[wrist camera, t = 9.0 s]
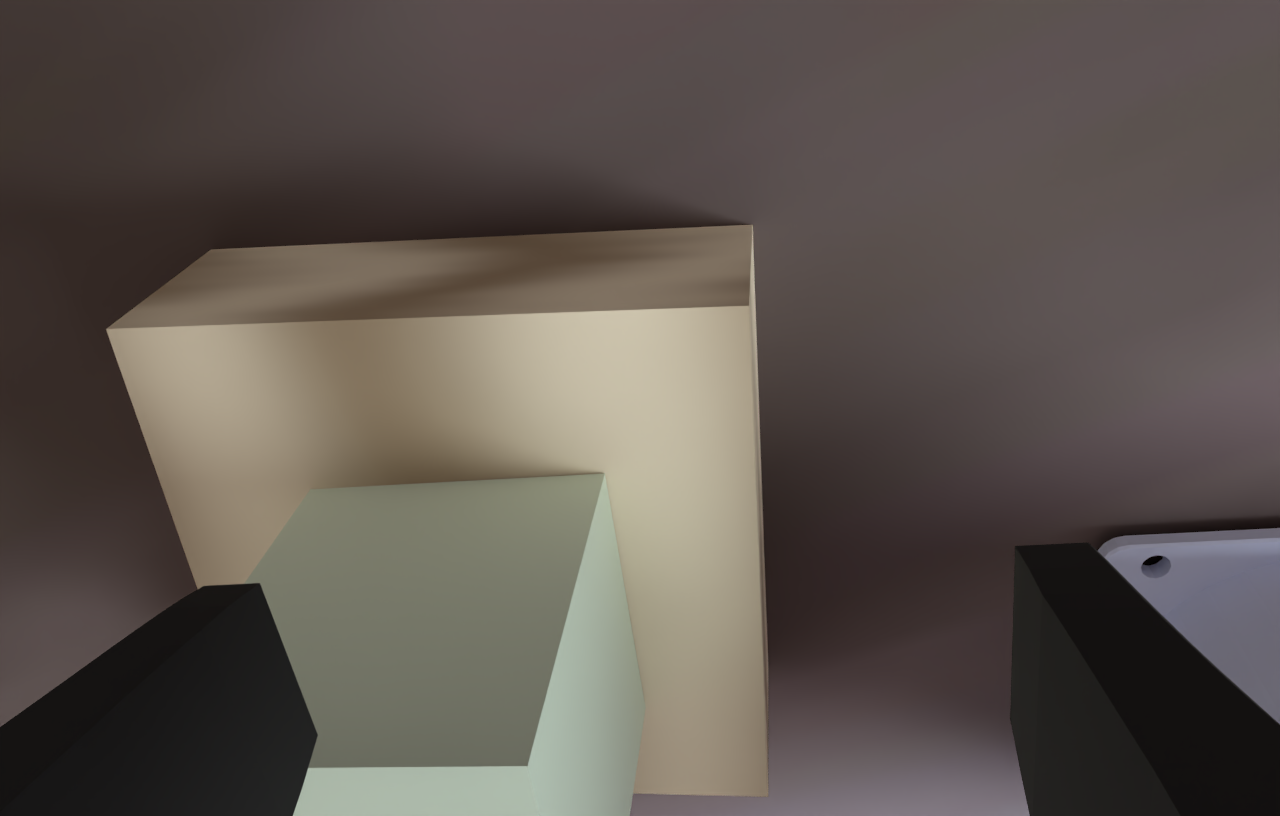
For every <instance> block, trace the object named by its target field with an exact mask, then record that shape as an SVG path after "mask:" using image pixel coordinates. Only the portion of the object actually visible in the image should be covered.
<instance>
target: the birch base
mask: <svg viewBox="0 0 1280 816" xmlns="http://www.w3.org/2000/svg"><path fill="white" fill-rule="evenodd" d="M106 331H107V334H108V336H109V339H110V342H111V345H112V348H113V351H114V353H115V356H116V359H117V362H118V365H119V368H120V370H121V373H122V376H123V379H124V382H125V385H126V387H127V390H128V393H129V396H130V399H131V402H132V404H133V407H134V410H135V413H136V416H137V419H138V421H139V424H140V427H141V430H142V433H143V436H144V438H145V441H146V444H147V447H148V450H149V453H150V455H151V458H152V461H153V464H154V467H155V470H156V472H157V475H158V478H159V481H160V484H161V487H162V489H163V492H164V495H165V498H166V501H167V504H168V506H169V509H170V512H171V515H172V518H173V521H174V523H175V526H176V529H177V532H178V535H179V538H180V540H181V543H182V546H183V549H184V552H185V555H186V557H187V560H188V563H189V566H190V569H191V572H192V574H193V577H194V580H195V583H196V586H197V589H199V588H201V587H203V586H209V585H230V584H244V583H245V582H246V580H247V579H248V578H249V576H250V575H251V573H252V572H253V570H254V569H255V568H256V566H257V565H258V563H259V562H260V560H261V559H262V558H263V556H264V555H265V553H266V552H267V550H268V549H269V548H270V546H271V545H272V543H273V542H274V540H275V539H276V538H277V536H278V535H279V533H280V532H281V530H282V529H283V528H284V526H285V525H286V523H287V522H288V520H289V519H290V518H291V516H292V515H293V513H294V512H295V510H296V509H297V508H298V506H299V505H300V503H301V502H302V500H303V499H304V498H305V496H306V495H307V493H308V492H309V490H310V489H325V488H343V487H361V486H380V485H399V484H417V483H436V482H455V481H473V480H492V479H510V478H529V477H548V476H566V475H585V474H604V473H605V477H606V483H607V489H608V494H609V500H610V506H611V512H612V517H613V523H614V529H615V534H616V540H617V546H618V552H619V557H620V563H621V569H622V575H623V580H624V586H625V592H626V598H627V603H628V609H629V615H630V621H631V626H632V632H633V638H634V644H635V649H636V655H637V661H638V666H639V672H640V678H641V684H642V689H643V695H644V701H645V707H646V709H645V716H644V722H643V729H642V736H641V743H640V749H639V756H638V763H637V770H636V776H635V783H634V790H633V793H638V794H677V795H716V796H756V797H768V641H767V613H766V585H765V557H764V529H763V502H762V474H761V446H760V418H759V390H758V363H757V335H756V307H755V279H754V252H753V225H734V226H712V227H690V228H668V229H647V230H625V231H603V232H581V233H559V234H538V235H516V236H494V237H472V238H450V239H428V240H407V241H385V242H363V243H341V244H319V245H298V246H276V247H254V248H232V249H211V250H210V251H208V252H207V253H206V254H204V255H203V256H202V257H200V258H199V259H198V260H196V261H195V262H194V263H192V264H191V265H190V266H189V267H187V268H186V269H185V270H183V271H182V272H181V273H179V274H178V275H177V276H175V277H174V278H173V279H171V280H170V281H169V282H167V283H166V284H165V285H163V286H162V287H161V288H159V289H158V290H157V291H156V292H154V293H153V294H152V295H150V296H149V297H148V298H146V299H145V300H144V301H142V302H141V303H140V304H138V305H137V306H136V307H134V308H133V309H132V310H130V311H129V312H128V313H126V314H125V315H124V316H122V317H121V318H120V319H119V320H117V321H116V322H115V323H113V324H112V325H111V326H109V327H108V328H107V329H106Z"/></svg>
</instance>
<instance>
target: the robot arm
mask: <svg viewBox="0 0 1280 816" xmlns="http://www.w3.org/2000/svg"><path fill="white" fill-rule="evenodd" d="M1156 555H1159V556H1163V558H1162V560H1160V561H1159V562H1158V563H1156V564H1153V565H1149V566H1147V565H1142V564H1143V562H1144V561H1145V560H1146V559H1148V558H1149V557H1152V556H1156ZM1010 720H1011V725H1012V730H1013V735H1014V740H1015V745H1016V750H1017V755H1018V760H1019V766H1020V771H1021V776H1022V780H1023V785H1024V790H1025V795H1026V799H1027V804H1028V809H1029V814H1030V816H1280V528H1270V529H1250V530H1230V531H1210V532H1190V533H1169V534H1149V535H1129V536H1121V537H1116V538H1113V539H1111V540H1109V541H1107V542H1105V543H1104V544H1103V545H1102V546H1101V547H1100V548H1099V550H1098V551H1097V550H1096V549H1095V548H1094V547H1092V546H1091V545H1090V544H1089V543H1071V544H1051V545H1030V546H1015V572H1014V607H1013V642H1012V677H1011V712H1010ZM317 737H318V734H317V731H316V729H315V726H314V723H313V721H312V718H311V716H310V713H309V710H308V708H307V705H306V703H305V700H304V697H303V695H302V692H301V689H300V687H299V684H298V682H297V679H296V676H295V674H294V671H293V668H292V666H291V663H290V661H289V658H288V655H287V653H286V650H285V647H284V645H283V642H282V640H281V637H280V634H279V632H278V629H277V626H276V624H275V621H274V619H273V616H272V613H271V611H270V608H269V605H268V603H267V600H266V598H265V595H264V592H263V590H262V587H261V585H260V583H250V584H230V585H209V586H203V587H201V588H199V589H198V590H196V591H194V592H193V593H191V594H189V595H188V596H186V597H184V598H183V599H181V600H180V601H178V602H177V603H175V604H173V605H172V606H170V607H169V608H167V609H166V610H164V611H163V612H161V613H160V614H158V615H157V616H156V617H154V618H153V619H151V620H150V621H148V622H147V623H145V624H144V625H143V626H141V627H140V628H138V629H137V630H135V631H134V632H133V633H131V634H130V635H128V636H127V637H126V638H124V639H123V640H121V641H120V642H118V643H117V644H116V645H114V646H113V647H111V648H110V649H109V650H107V651H106V652H105V653H103V654H102V655H100V656H99V657H98V658H96V659H95V660H93V661H92V662H91V663H89V664H88V665H86V666H85V667H84V668H82V669H81V670H79V671H78V672H77V673H75V674H74V675H73V676H71V677H70V678H68V679H67V680H66V681H64V682H63V683H61V684H60V685H59V686H57V687H56V688H54V689H53V690H52V691H50V692H49V693H47V694H46V695H45V696H43V697H42V698H40V699H39V700H38V701H36V702H35V703H33V704H32V705H31V706H29V707H28V708H26V709H25V710H24V711H22V712H21V713H19V714H18V715H17V716H15V717H14V718H12V719H11V720H10V721H8V722H7V723H6V724H4V725H3V726H1V727H0V816H293V814H294V811H295V808H296V805H297V802H298V799H299V796H300V793H301V790H302V787H303V784H304V780H305V777H306V774H307V770H308V767H309V764H310V760H311V757H312V753H313V750H314V747H315V743H316V740H317Z"/></svg>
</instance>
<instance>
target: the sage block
mask: <svg viewBox="0 0 1280 816" xmlns="http://www.w3.org/2000/svg"><path fill="white" fill-rule="evenodd" d="M250 583H260V585H261V587H262V590H263V592H264V595H265V598H266V600H267V603H268V605H269V608H270V611H271V613H272V616H273V619H274V621H275V624H276V626H277V629H278V632H279V634H280V637H281V640H282V642H283V645H284V647H285V650H286V653H287V655H288V658H289V661H290V663H291V666H292V668H293V671H294V674H295V676H296V679H297V682H298V684H299V687H300V689H301V692H302V695H303V697H304V700H305V703H306V705H307V708H308V710H309V713H310V716H311V718H312V721H313V723H314V726H315V729H316V731H317V734H318V737H317V740H316V743H315V747H314V750H313V753H312V757H311V760H310V764H309V767H308V770H307V774H306V777H305V780H304V784H303V787H302V790H301V793H300V796H299V799H298V802H297V805H296V808H295V811H294V814H293V816H630V810H631V803H632V797H633V790H634V783H635V776H636V770H637V763H638V756H639V749H640V743H641V736H642V729H643V722H644V716H645V709H646V707H645V701H644V695H643V689H642V684H641V678H640V672H639V666H638V661H637V655H636V649H635V644H634V638H633V632H632V626H631V621H630V615H629V609H628V603H627V598H626V592H625V586H624V580H623V575H622V569H621V563H620V557H619V552H618V546H617V540H616V534H615V529H614V523H613V517H612V512H611V506H610V500H609V494H608V489H607V483H606V477H605V473H604V474H585V475H566V476H548V477H529V478H510V479H492V480H473V481H455V482H436V483H417V484H399V485H380V486H361V487H343V488H325V489H310V490H309V492H308V493H307V495H306V496H305V498H304V499H303V500H302V502H301V503H300V505H299V506H298V508H297V509H296V510H295V512H294V513H293V515H292V516H291V518H290V519H289V520H288V522H287V523H286V525H285V526H284V528H283V529H282V530H281V532H280V533H279V535H278V536H277V538H276V539H275V540H274V542H273V543H272V545H271V546H270V548H269V549H268V550H267V552H266V553H265V555H264V556H263V558H262V559H261V560H260V562H259V563H258V565H257V566H256V568H255V569H254V570H253V572H252V573H251V575H250V576H249V578H248V579H247V580H246V582H245V583H244V584H250Z"/></svg>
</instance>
